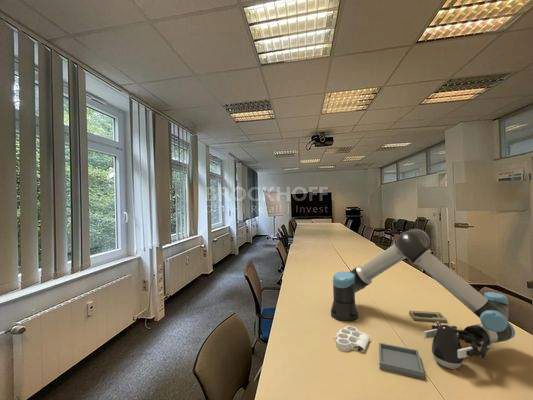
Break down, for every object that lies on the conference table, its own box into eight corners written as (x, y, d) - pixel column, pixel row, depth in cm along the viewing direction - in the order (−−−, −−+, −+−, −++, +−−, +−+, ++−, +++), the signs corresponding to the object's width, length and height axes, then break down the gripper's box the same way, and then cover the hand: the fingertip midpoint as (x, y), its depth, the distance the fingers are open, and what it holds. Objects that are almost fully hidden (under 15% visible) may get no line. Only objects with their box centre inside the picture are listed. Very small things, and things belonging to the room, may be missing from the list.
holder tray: (379, 369, 95) (379, 362, 95) (379, 348, 108) (379, 342, 108) (424, 379, 89) (424, 372, 89) (418, 356, 102) (417, 350, 102)
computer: (414, 322, 132) (414, 315, 132) (408, 315, 140) (408, 309, 140) (447, 324, 129) (447, 318, 129) (440, 317, 136) (439, 311, 136)
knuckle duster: (362, 358, 102) (328, 347, 110) (371, 338, 117) (340, 329, 125) (362, 350, 102) (328, 340, 110) (371, 330, 117) (340, 323, 125)
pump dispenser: (449, 355, 102) (448, 318, 102) (471, 372, 92) (470, 331, 92) (425, 356, 102) (424, 319, 102) (444, 373, 91) (443, 332, 92)
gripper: (518, 362, 90) (475, 374, 84) (450, 329, 114) (413, 337, 108) (517, 342, 90) (475, 352, 84) (449, 312, 114) (413, 319, 108)
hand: (440, 343), depth 96 cm, fingers open, 13 cm apart
